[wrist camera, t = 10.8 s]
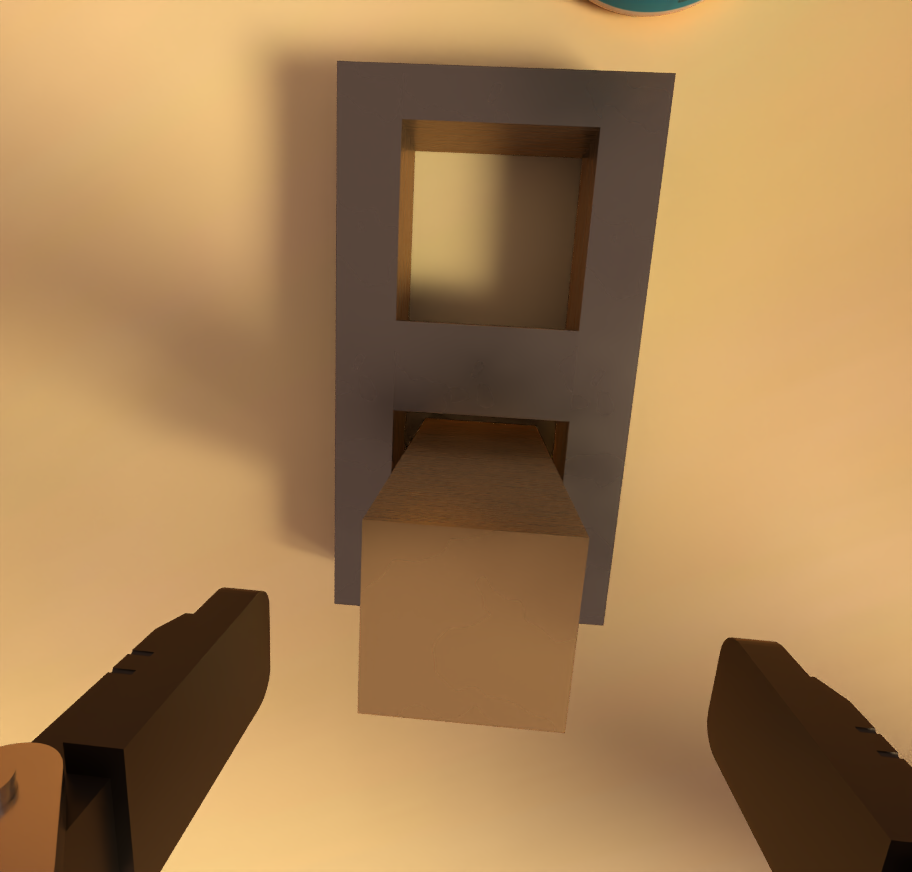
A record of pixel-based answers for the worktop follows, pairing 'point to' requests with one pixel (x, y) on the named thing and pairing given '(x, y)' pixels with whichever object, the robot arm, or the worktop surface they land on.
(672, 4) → the beverage bottle
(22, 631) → the worktop surface
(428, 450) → the wooden peg
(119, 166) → the worktop surface
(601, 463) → the block with square holes
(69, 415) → the worktop surface
